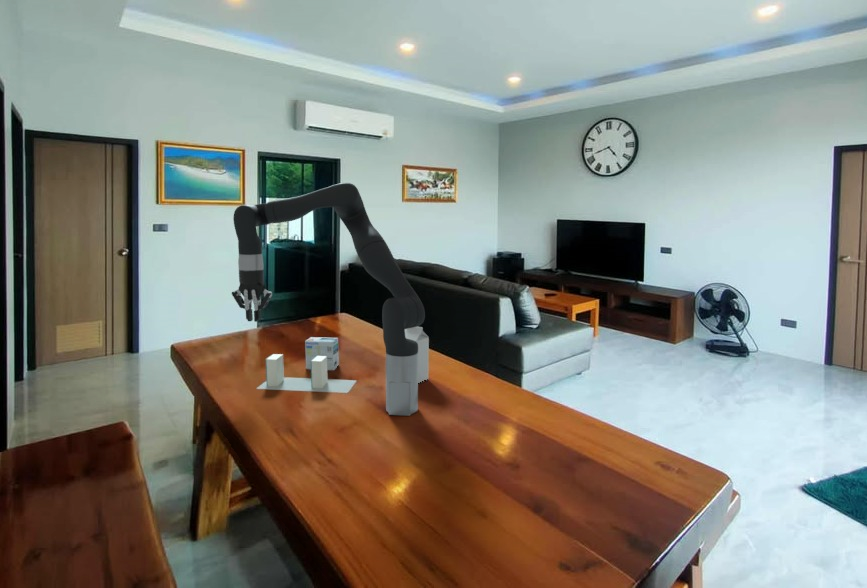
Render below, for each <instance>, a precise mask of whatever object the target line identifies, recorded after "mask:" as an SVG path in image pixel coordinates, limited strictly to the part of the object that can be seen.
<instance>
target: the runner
mask: <svg viewBox="0 0 867 588" xmlns="http://www.w3.org/2000/svg"><path fill="white" fill-rule="evenodd" d="M357 381H358V380H355V379H354V380H353V379H351V380H350V379H337V378H336V379H334V378H333V379H332V378H328V382H327V383H326V385H325V386H324V387H323V388H311V377H310V378H308V377H286V376H284V381H283V382H282V383H280V384H279V385H278V386H267V382H266V380H265V381H264V382H262V383H261V384H260V385H258V387H256V390H271V391H273V390H274V391H275V390H277V391H293V392H294V391H295V392H314V393H315V392H317V393H318V392H319V393H336V394H337V393H341V394H342V393H343V394H349V392H350V391H351V390H352V388H353V386H355V384H356V383H357Z"/></svg>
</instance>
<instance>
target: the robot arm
mask: <svg viewBox="0 0 867 588" xmlns="http://www.w3.org/2000/svg"><path fill="white" fill-rule="evenodd" d="M322 208H333V210H334V212H335V213H336V214H337V216H338V217H339V218H340V220H341V221H342V223H343V224H344V226H345V228H346V229H347V230H348V232H349V235H350V236H351V239H352V242H353V245H354V250H355V252H356V254H357V256H358V259H359V260H360V264H362V267H363V268H364V270H365V272H367V273H368V274H369V275H370V276H371V277H372V278H373V279H375V280H376V281H377V282H378V283H380V284H381V285H383V287H385V288H387V290H389V292H390V293H391V294H392V296H393V297H389V298H387V299H386V300H385V301H384V303H383V305H382V310H381V311H382V312H381V313H382V315H381V316H382V317H381V318H382V320H381V321H382V337H383V343H384V346H385V347H384V348H385V411H386V412H387V413H388V415H389V416H406V417H408V416H409V417H410V416H411V415H413V414H415V413H416V412H418V410H419V384H418V343H417V342H416V341H414V340H411V339H406V337H405V329H408V328H413V327H417V326H418V327H420V326H421V325H423V324H424V321H425V318H426V312H425V306H424V304H423V303H422V300H421V299H420V297H419V296H418V294H417V293H416V291H415V290H414V288H413V287H412V286H411V284H410V282H409V281H408V280H407V278H406V277H405V275H404V273H403V272H402V269H401V268H400V266H399V265H398V263H397V261H396V260H395V257H394V256H393V254H392V251H391V249H390V247H389V246H388V244H387V242H386V240H385V239H384V237H383V236H382V234H380V233H379V231H378V230H377V228H375V227H374V226H373V224H372V222H371V221H370V220H371V219H370V218H369V215H368V213H367V211H366V207H365V204H364V201H363V198H362V196H361V194H360V190H359V189H358V188H357V187H356V185H355V184H353V183H351V182H340V183H337V184H332V185H330V186H328V187H324V188H320V189H318V190H315V191H311V192H308V193H306V194H302V195H299V196H293V197H288V198H282V199H276V200H271V201H268V202H265V203H258V204H242V205H239V206H237V207H236V209H234V212H233V218H232V219H233V226H234V230H235V234H236V237H237V238H236V239H237V240H238V242H237V245H238V263H237V264H238V279H239V281H238V282H239V286H238V289H236V290H234V291H232V292H231V295H232V297H233V299H234V300H235V302H236V303H237V305H238V306H239V308H240V309H244V310H245V319H246V320H247V322H252V321H254V322H255V323H257V322H259V321H260V320H261V318H262V313H261V310H262V309H264V308H266V307H267V306H268V304H269V302H270V301H271V299H272V297H273V295H274V292H273V291H270V290H267V289H266V286H265V273H264V272H265V271H264V269H265V268H264V266H265V265H264V258H263V252H262V251H263V248H262V239H261V237H260V236H259V235H258V232H257V231H258V229H257V227H261V226H266V225H270V224H279V223H286V222H287V223H288V222H292V221H297V220H299V219H301V218H303V217H305V216H306V215H308V214H309V213H311V212H313V211H315V210H318V209H322ZM262 296H263V300H262ZM252 308H254V311H253V309H252Z"/></svg>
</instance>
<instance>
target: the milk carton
mask: <svg viewBox="0 0 867 588" xmlns="http://www.w3.org/2000/svg"><path fill="white" fill-rule="evenodd" d="M423 329H424V328H423V327H422V326H417V327H413V328H408V329H405V337H406V339H411V340H414V341H416V342H417V343H418V383H419V384H420V382H421V383H423V382H425V381H424V380H426V381H428V380H429V364H430V363H429V354H430V352H429V351H430V350H429V349H430V348H429V347H430V346H429V345H430V344H429V343H430V339H429V338H430V337H429V336H428V335H427V334H426V332H425V331H424V330H423ZM427 379H428V380H427ZM422 381H423V382H422Z"/></svg>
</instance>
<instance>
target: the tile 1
mask: <svg viewBox="0 0 867 588" xmlns="http://www.w3.org/2000/svg"><path fill="white" fill-rule="evenodd" d="M284 369H285V367H284V354H283V353H282V354H281V353H279V354H278V353H272V354H271V355H269V356H268V357H266V358H265V377H266V378H265V379H266V380H265V381H266V382H267V386H278V385H279V384H280V383H282V382H283V381H284V377H285V370H284Z"/></svg>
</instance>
